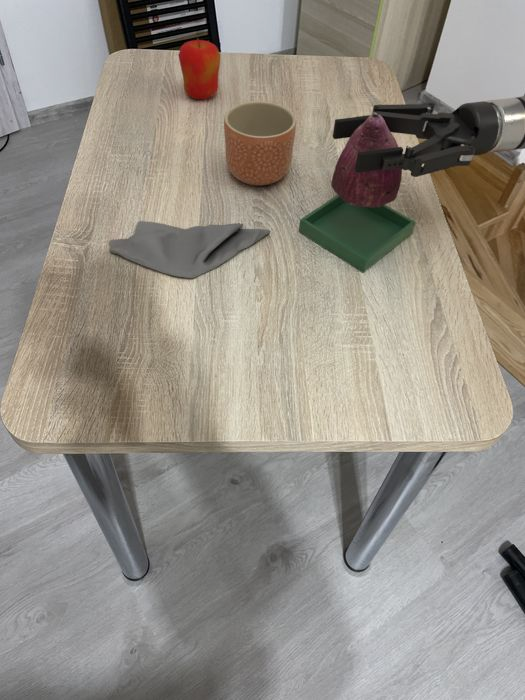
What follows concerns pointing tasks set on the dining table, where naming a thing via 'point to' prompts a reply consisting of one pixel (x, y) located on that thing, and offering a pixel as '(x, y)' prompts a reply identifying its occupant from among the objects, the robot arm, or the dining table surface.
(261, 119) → the planter
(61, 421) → the dining table surface
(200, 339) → the dining table surface
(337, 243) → the green tray
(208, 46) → the apple
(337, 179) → the vegetable
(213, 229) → the cloth
